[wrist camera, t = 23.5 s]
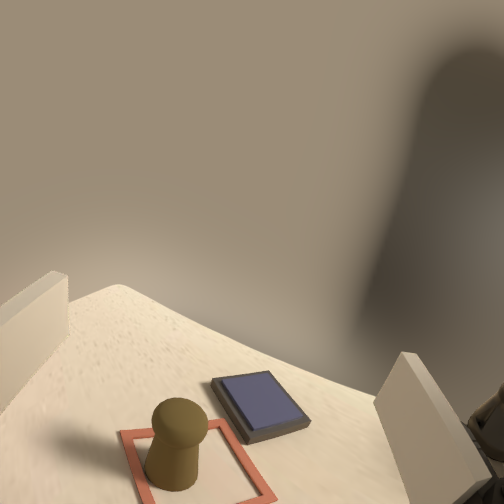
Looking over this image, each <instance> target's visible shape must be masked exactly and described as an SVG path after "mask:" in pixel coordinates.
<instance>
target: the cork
mask: <svg viewBox="0 0 504 504" xmlns="http://www.w3.org/2000/svg"><path fill="white" fill-rule="evenodd" d="M152 428H153V431H154V433H155V435H154V438H153V441H152V444H151V447H150V449H149V452H148V455H147V458H146V461H145V465H144V469H145V474H146V476H147V477H148V479H149V480H150V481H151V482H152V483H153V484H154V485H155V486H157V487H159V488H161V489H163V490H167V491H172V492H173V491H183V490H186V489H188V488H190V487H191V486H192V485H194V483H195V481H196V480H197V475H198V453H199V443H201V442H202V440H203V439H204V438H205V436H206V434H207V431H208V419H207V416H206V414H205V412H204V411H203V410H202V408H201V407H200V406H199V405H198V404H196V403H195V402H193V401H191V400H188V399H184V398H170V399H167V400H165V401H163V402H161V403H160V404H159V405H158V406H157V407H156V408H155V410H154V412H153V415H152Z"/></svg>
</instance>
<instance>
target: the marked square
mask: <svg viewBox="0 0 504 504" xmlns="http://www.w3.org/2000/svg"><path fill="white" fill-rule="evenodd" d="M214 428H220V429H221V431H222V433H223V435H224V436H225V438H226V440H227V441H228V443H229V445H230V446H231V448H232V450H233V451H234V453H235V455H236V456H237V458H238V459H239V461H240V463H241V464H242V466H243V467H244V469H245V470H246V472H247V474H248V475H249V477H250V478H251V480H252V481H253V483H254V484H255V486H256V487H257V489H258V490H259V492H260V493H261V495H262V496H259V497H256V498H253V499H250V500H247V501H244V502H241V503H237V504H270V503H272V502H275V501H277V500H278V499H277V497H276V496H275V494H274V493H273V492H272V490H271V489H270V487H269V486H268V484H267V483H266V482H265V480H264V479H263V477H262V476H261V474H260V473H259V471H258V470H257V468H256V467H255V465H254V464H253V462H252V461H251V459H250V458H249V456H248V455H247V453H246V452H245V450H244V449H243V447H242V446H241V444H240V442H239V441H238V439H237V438H236V436H235V434H234V433H233V431H232V430H231V428H230V426H229V425H228V423H227V421H226V420H225V418H221V419H215V420H209V421H208V430H209V429H214ZM120 434H121V437H122V441H123V444H124V448H125V451H126V455H127V458H128V461H129V464H130V468H131V471H132V474H133V477H134V480H135V483H136V485H137V488H138V491H139V494H140V497H141V499H142V502H143V504H155V501H154V499H153V496H152V494H151V491H150V489H149V486H148V483H147V481H146V478H145V475H144V472H143V470H142V467H141V464H140V461H139V458H138V455H137V452H136V449H135V446H134V443H133V439H139V438H150V437H154V435H155V433H154V431H153V428H146V429H133V430H120Z"/></svg>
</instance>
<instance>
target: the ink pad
mask: <svg viewBox="0 0 504 504" xmlns="http://www.w3.org/2000/svg"><path fill="white" fill-rule="evenodd" d="M211 387H212V389H213V390H214V392H215V394H216V395H217V397H218V399H219V401H220V402H221V404H222V406H223V407H224V409H225V410H226V412H227V414H228V415H229V417H230V419H231V420H232V422H233V423H234V425H235V427H236V428H237V430H238V431H239V433H240V434H241V436H242V438H243V439H244V441H245V442H246V444H247V445H250V444H254V443H258V442H261V441H265V440H268V439H272V438H275V437H279V436H282V435H285V434H289V433H292V432H295V431H298V430H301V429H304V428H307V427H308V426H309V424H310V422H311V420H310V418H309V417H308V416H307V415H306V414H305V413H304V412H303V410H302V409H301V408H300V407H299V406H298V405H297V403H296V402H295V401H294V400H293V399H292V398H291V396H290V395H289V394H288V393H287V392H286V390H285V389H284V388H283V387H282V386H281V385H280V383H279V382H278V381H277V380H276V379H275V377H274V376H273V375H272V374H271V372H270V371H269V370H268V371H262V372H256V373H249V374H242V375H235V376H227V377H219V378H212V382H211Z"/></svg>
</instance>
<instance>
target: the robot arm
mask: <svg viewBox="0 0 504 504" xmlns="http://www.w3.org/2000/svg"><path fill="white" fill-rule="evenodd" d="M69 335H70V330H69V309H68V275H65V274H62V273H59V272H56V271H53V270H52V271H51V272H49V273H48V274H46V275H45V276H43V277H42V278H40V279H39V280H37V281H36V282H34V283H33V284H31V285H30V286H29V287H27V288H25V289H24V290H22V291H21V292H20V293H18V294H17V295H15V296H14V297H12V298H11V299H10V300H9V301H7V302H6V303H4V304H3V305H1V306H0V415H1V414H2V413H3V411H4V410H5V409H6V408H7V406H8V405H9V404H10V403H11V401H12V400H13V399H14V398H15V397H16V395H17V394H18V393H19V392H20V391H21V389H22V388H23V387H24V386H25V385H26V384H27V382H28V381H29V380H30V379H31V378H32V377H33V375H34V374H35V373H36V372H37V371H38V370H39V369H40V367H41V366H42V365H43V364H44V363H45V362H46V361H47V360H48V358H49V357H50V356H51V355H52V354H53V353H54V352H55V351H56V350H57V348H58V347H59V346H60V345H61V344H62V343H63V342H64V341H65V340H66V339H67V338H68V336H69ZM373 403H374V406H375V408H376V411H377V413H378V416H379V419H380V421H381V424H382V426H383V429H384V431H385V434H386V437H387V439H388V442H389V445H390V447H391V450H392V453H393V455H394V458H395V461H396V464H397V466H398V469H399V472H400V475H401V478H402V480H403V483H404V486H405V489H406V492H407V495H408V498H409V501H410V504H504V478H500V479H499V478H498V477H497V475H496V473H495V471H494V470H493V468H492V466H491V464H490V462H489V461H488V459H487V457H486V455H487V456H489V457H491V458H493V459H495V460H498V461H503V462H504V382H503V384H502V385H501V387H500V388H499V390H498V391H497V393H495V395H493V396H492V397H491V398H490V399H488V400H487V401H486V402H485V403H484V404H482V405H481V406H480V407H479V408H478V409H476V411H475V412H474V413H473V414H472V416H471V417H470V419H469V420H468V427H467V426H466V425H465V424H464V423H463V422H461V421H460V420H459V418H458V417H457V416H456V414H455V412H454V410H453V409H452V407H451V406H450V404H449V403H448V401H447V400H446V398H445V396H444V395H443V393H442V392H441V390H440V389H439V387H438V386H437V384H436V382H435V381H434V380H433V378H432V376H431V375H430V374H429V372H428V371H427V369H426V367H425V366H424V365H423V363H422V362H421V360H420V359H419V357H418V356H417V354H414V353H407V352H401V353H400V355H399V357H398V359H397V361H396V363H395V365H394V367H393V368H392V370H391V372H390V374H389V376H388V378H387V380H386V381H385V383H384V385H383V386H382V388H381V390H380V392H379V393H378V395H377V397H376V398H375V400H374V402H373ZM484 453H485V454H486V455H485V454H484Z"/></svg>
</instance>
